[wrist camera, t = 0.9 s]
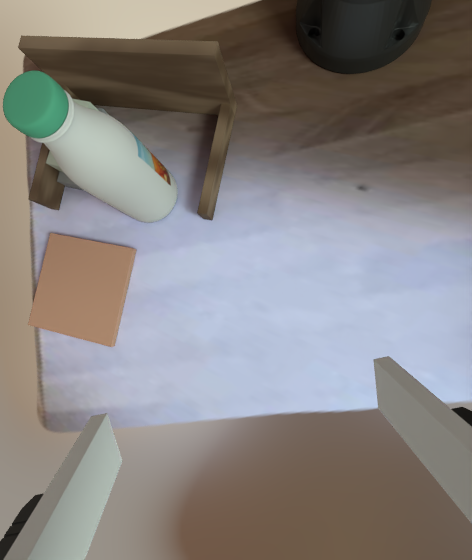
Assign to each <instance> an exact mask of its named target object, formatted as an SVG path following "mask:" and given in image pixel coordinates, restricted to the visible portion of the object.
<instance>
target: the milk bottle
mask: <svg viewBox="0 0 472 560" xmlns="http://www.w3.org/2000/svg"><path fill="white" fill-rule="evenodd" d="M3 111H4V115H5V117H6V118H7V120H8V122H9V123H10V124H11V125H12V126H13V127H15V128H16V129H18V130H19V131H20V132H22V133H24V134H25V135H27V136H29V137H30V138H32V139H33V140H35V141H37V142H40V143H44V144H45V145H46V146H47V148H48V149H49V150H50V151H51V153H52V155H53V156H54V158H55V160H56V162H57V163H58V165H59V167H60V168H61V169H62V171H63V172H64V173H65V174H66V176H67V177H68V178H69V179H70V180H72V181H73V182H74V183H75V184H76V185H78V186H79V187H80V188H82V189H83V190H85V191H87V192H88V193H90V194H91V195H93V196H95V197H97V198H98V199H100V200H102V201H103V202H105V203H107V204H109V205H110V206H112V207H114V208H116V209H118V210H119V211H121V212H123V213H125V214H126V215H128V216H130V217H132V218H134V219H136V220H138V221H141V222H145V223H150V222H156V221H158V220H161V219H163V218H164V217H166V216H167V215H168V214H169V213H170V212H171V210H172V209H173V207H174V205H175V203H176V200H177V185H176V182H175V179H174V178H173V176H172V175H171V174H170V172H169V171H168V170H167V169H166V168H165V167H164V166H163V165H162V164H161V163H160V162H159V161H158V159H157V158H156V157H155V156H154V155H153V154H152V153H151V152H150V151H149V150H148V149H147V148H146V147H145V146H144V145H143V144H142V143H141V142H140V141H139V140H138V138H137V137H136V136H135V135H134V134H133V133H131V132H130V131H129V130H128V129H127V128H126V127H125V126H124V125H123V124H121V123H120V122H119V121H117V120H116V119H114V118H113V117H111V116H109V115H107V114H105V113H103V112H100V111H97V110H93V109H89V108H86V107H83V106H81V105H78V104H76V103H75V102H73V100H72V98H71V96H70V95H69V94H68V93H67V92H66V91H65V90H63V88H62V87H61V86H60V85H59V84H58V83H57V82H56V81H55V80H54V79H52V78H51V77H50V76H49V75H47V74H45V73H43V72H41V71H28V72H25V73H23V74H21V75H19V76H18V77H16V78H15V79H14V80H13V81H12V82H11V84H10V85H9V86H8V88H7V90H6V92H5V95H4V99H3Z"/></svg>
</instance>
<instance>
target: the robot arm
mask: <svg viewBox="0 0 472 560" xmlns="http://www.w3.org/2000/svg"><path fill="white" fill-rule="evenodd" d="M430 5H431V0H297V6H296V31H297V37H298V40H299V43H300V45H301V47H302V49H303V51H304V52H305V54H306V55H307V56H308V57H309V58H310V59H311V60H312V61H313V62H315V63H316V64H318V65H319V66H321V67H323V68H325V69H328V70H330V71H334V72H338V73H346V74H354V73H363V72H368V71H372V70H375V69H378V68H380V67H383V66H385V65H387V64H389V63H391V62H392V61H394V60H395V59H397V58H398V57H399V56H401V55H402V54H403V53H404V52H405V51H406V50H407V49H408V48H409V47H410V46H411V45H412V43H413V42H414V41H415V39H416V38H417V36H418V34H419V32H420V30H421V28H422V26H423V23H424V21H425V19H426V16H427V14H428V11H429V8H430ZM374 369H375V379H376V389H377V400H378V409H379V410H380V411H381V412H382V414H383V415H384V416H385V417H386V418H387V420H388V421H389V422H390V423H391V425H392V426H393V427H394V428H395V430H396V431H397V432H398V433H399V434H400V436H401V437H402V438H403V439H404V441H405V442H406V443H407V444H408V446H409V447H410V448H411V449H412V451H413V452H414V453H415V454H416V455H417V457H418V458H419V459H420V460H421V462H422V463H423V464H424V465H425V467H426V468H427V469H428V470H429V472H430V473H431V474H432V475H433V476H434V478H435V479H436V480H437V481H438V483H439V484H440V485H441V486H442V488H443V489H444V490H445V491H446V492H447V494H448V495H449V496H450V497H451V498H452V499H453V501H454V502H455V503H456V505H457V506H458V507H459V508H460V510H461V511H462V512H463V513H464V515H465V516H466V517H467V518H468V520H469V521H470V522H471V523H472V411H470V410H468V409H466V408H464V407H459V408H454V409H450V408H449V407H448V406H447V405H446V404H444V403H443V402H442V401H441V400H440V399H438V398H437V397H436V396H435V395H434V394H433V393H431V392H430V391H429V390H428V389H427V388H426V387H424V386H423V385H422V384H421V383H420V382H419V381H417V380H416V379H415V378H414V377H413V376H411V375H410V374H409V373H408V372H407V371H406V370H404V369H403V368H402V367H401V366H400V365H399V364H397V363H396V362H395V361H394V360H393V359H391V358H390V357H389V356H388V357H383V358H378V359H374ZM121 463H122V458H121V455H120V452H119V449H118V446H117V443H116V440H115V436H114V433H113V430H112V427H111V424H110V421H109V418H108V414H107V413H106V414H101V415H96V416H91V418H90V419H89V421H88V423H87V424H86V426H85V428H84V429H83V431H82V432H81V434H80V436H79V437H78V439H77V441H76V442H75V444H74V445H73V447H72V449H71V450H70V452H69V454H68V455H67V457H66V459H65V460H64V462H63V463H62V465H61V467H60V468H59V470H58V472H57V473H56V475H55V476H54V478H53V480H52V481H51V483H50V485H49V486H48V488H47V490H46V491H45V493H44V494H40V495H35V496H34V497H33V498H32V499H31V500H30V501H29V502H28V503H27V504H26V505H25V506H24V507H23V508H22V509H21V511H20V512H19V514H18V516H17V517H16V518H15V520H14V522H13V523H12V526H10V528H9V529H8V531H7V532H6V534H5V535H4V538H3V539H2V540H1V541H0V560H85V557H86V555H87V552H88V549H89V547H90V544H91V542H92V539H93V536H94V534H95V531H96V528H97V526H98V523H99V521H100V518H101V515H102V513H103V510H104V508H105V505H106V502H107V500H108V497H109V495H110V492H111V489H112V486H113V484H114V481H115V478H116V476H117V474H118V471H119V468H120V466H121Z"/></svg>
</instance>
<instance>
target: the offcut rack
mask: <svg viewBox="0 0 472 560" xmlns="http://www.w3.org/2000/svg"><path fill="white" fill-rule="evenodd" d="M18 48H19V49H20V50H21V51H22V52H23V53H24V54H25V55H26V56H27V57H28V58H29V59H30V60H32V61H33V62H34V63H35V64H36V65H37V66H38V67H39V68H40V69H41V70H42V71H43V72H44V73H45V74H47V75H49V76H50V77H51V78H52V79H54V80H55V81H56V82H57V83H58V84H59V85H60V86H61V87H62V88H63V90H65V91H66V92H67V93H68V94H69V95H70V96H71V98H72V99H77V100H82V101H88V102H91V103H92V104H93V105H101V106H114V107H126V108H138V109H150V110H163V111H175V112H187V113H200V114H212V115H219V116H218V121H217V125H216V130H215V134H214V139H213V144H212V148H211V153H210V157H209V162H208V167H207V171H206V176H205V180H204V185H203V189H202V194H201V199H200V203H199V208H198V212H197V213H198V214H199V215H200V216H201V217H202V218H203V219H207V220H212V219H213V215H214V210H215V205H216V201H217V196H218V192H219V187H220V182H221V178H222V173H223V168H224V164H225V159H226V154H227V150H228V145H229V140H230V136H231V131H232V126H233V122H234V117H235V112H236V108H237V104H236V100H235V97H234V94H233V91H232V87H231V84H230V81H229V77H228V74H227V71H226V68H225V64H224V61H223V58H222V54H221V51H220V48H219V44H218V41H183V40H149V39H115V38H80V37H78V38H77V37H47V36H21V38H20V43H19V46H18ZM49 152H50V150H49V149H48V148H47V146H46V145H45V144H44V143H42V147H41V151H40V155H39V159H38V163H37V167H36V171H35V175H34V179H33V183H32V187H31V191H30V195H29V200H31V201H33V202H36V203H38V204H41V205H43V206H46V207H48V208H50V209H55V210H59V207H60V203H61V199H62V195H63V191H64V187H65V185H63V184H61V183H59V182H57V179H58V175H59V172H60V171H59V170H57V169H55V168H53V167H52V166H50V165H48V164H46V161H47V158H48V155H49Z"/></svg>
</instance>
